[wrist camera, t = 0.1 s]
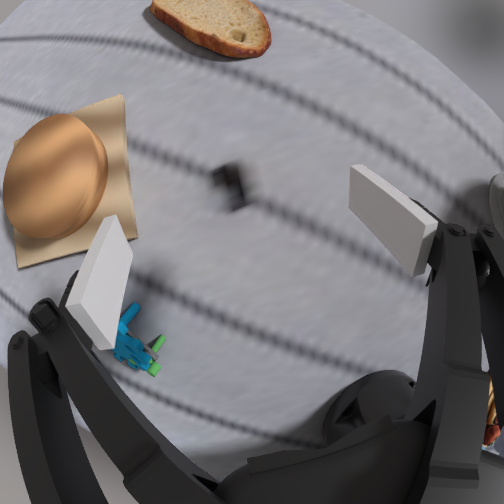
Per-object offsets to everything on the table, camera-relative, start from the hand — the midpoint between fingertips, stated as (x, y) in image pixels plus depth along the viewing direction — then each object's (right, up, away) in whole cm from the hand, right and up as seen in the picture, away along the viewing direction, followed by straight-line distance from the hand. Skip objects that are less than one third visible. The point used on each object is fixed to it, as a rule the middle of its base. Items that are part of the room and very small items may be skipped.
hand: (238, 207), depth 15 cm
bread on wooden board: (-22, +6, +13) cm, 27 cm away
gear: (-14, -11, +15) cm, 23 cm away
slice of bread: (-6, +31, +15) cm, 35 cm away
